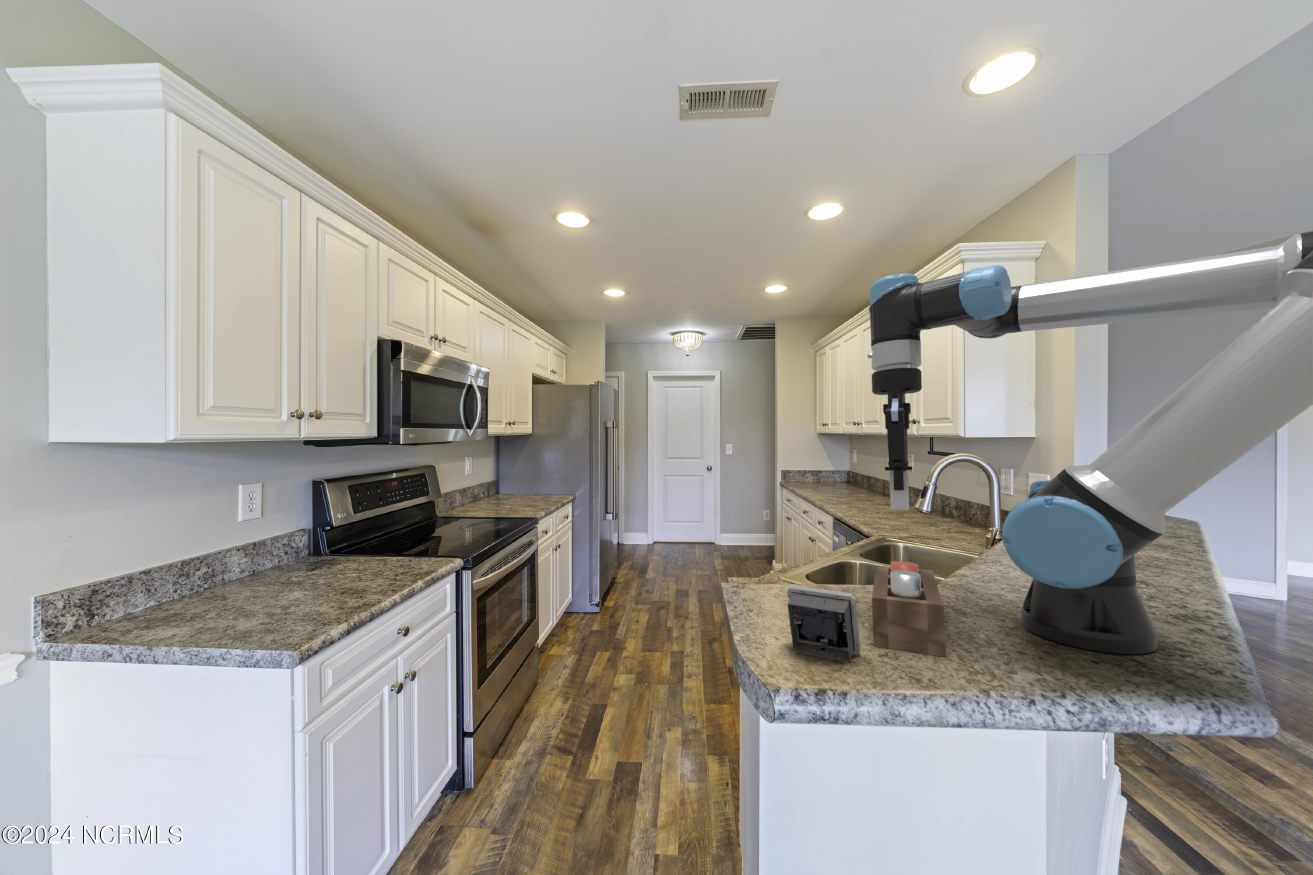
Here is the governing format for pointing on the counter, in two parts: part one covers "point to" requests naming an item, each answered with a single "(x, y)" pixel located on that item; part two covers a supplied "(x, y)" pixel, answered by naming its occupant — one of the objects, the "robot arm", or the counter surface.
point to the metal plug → (905, 584)
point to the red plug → (904, 566)
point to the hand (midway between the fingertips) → (899, 509)
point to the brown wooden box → (908, 616)
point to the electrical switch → (823, 622)
